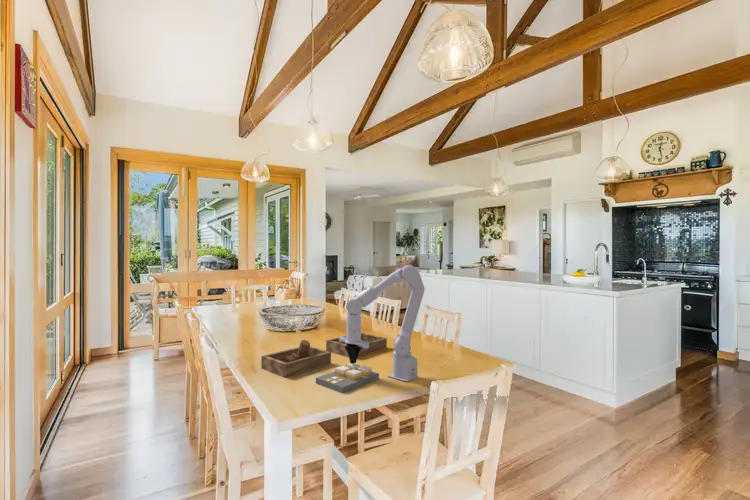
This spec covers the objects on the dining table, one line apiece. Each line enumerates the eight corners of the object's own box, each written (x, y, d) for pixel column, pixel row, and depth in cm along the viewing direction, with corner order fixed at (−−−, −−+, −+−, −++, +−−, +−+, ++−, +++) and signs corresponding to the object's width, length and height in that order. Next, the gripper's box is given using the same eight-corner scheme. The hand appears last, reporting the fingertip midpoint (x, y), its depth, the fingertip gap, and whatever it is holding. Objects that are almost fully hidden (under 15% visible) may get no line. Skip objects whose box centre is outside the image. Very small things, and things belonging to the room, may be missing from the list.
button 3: (360, 370, 158) (360, 364, 158) (353, 373, 155) (353, 366, 155) (352, 368, 161) (353, 362, 161) (345, 370, 158) (346, 364, 158)
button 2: (361, 378, 150) (361, 371, 150) (353, 380, 147) (353, 374, 147) (353, 375, 152) (353, 369, 152) (346, 378, 149) (346, 371, 149)
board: (378, 378, 154) (378, 372, 154) (342, 393, 139) (342, 386, 139) (352, 370, 164) (352, 365, 163) (315, 383, 148) (315, 377, 148)
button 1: (371, 374, 154) (371, 367, 154) (364, 376, 151) (364, 370, 151) (363, 371, 157) (364, 365, 157) (357, 374, 154) (357, 367, 154)
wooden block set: (288, 379, 158) (294, 358, 155) (275, 366, 163) (281, 346, 160) (320, 366, 173) (327, 347, 169) (308, 355, 177) (314, 336, 174)
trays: (386, 348, 198) (386, 338, 198) (288, 378, 152) (288, 365, 152) (359, 341, 210) (360, 332, 210) (261, 368, 164) (261, 356, 164)
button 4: (349, 374, 154) (349, 368, 153) (342, 377, 150) (342, 370, 150) (342, 372, 156) (342, 365, 156) (334, 374, 153) (335, 368, 153)
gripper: (333, 327, 159) (333, 361, 159) (360, 333, 150) (359, 369, 150) (346, 324, 164) (345, 357, 165) (372, 330, 155) (372, 365, 155)
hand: (353, 363), depth 158 cm, fingers closed
